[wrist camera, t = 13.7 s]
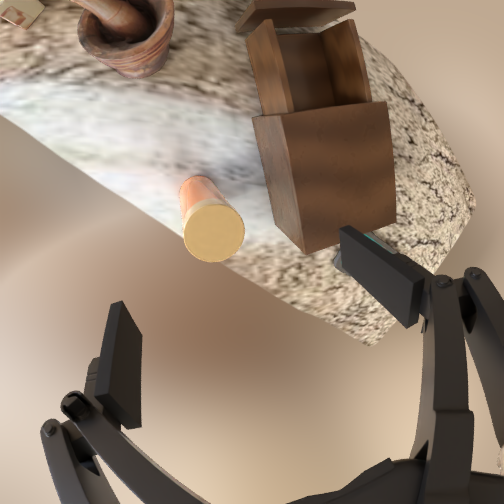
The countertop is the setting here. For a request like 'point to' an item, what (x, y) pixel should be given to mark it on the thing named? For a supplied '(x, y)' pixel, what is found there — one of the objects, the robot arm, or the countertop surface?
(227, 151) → the countertop surface
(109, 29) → the mortar and pestle
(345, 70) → the drawer
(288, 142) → the cabinet
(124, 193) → the countertop surface
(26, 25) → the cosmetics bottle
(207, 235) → the spice jar
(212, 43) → the countertop surface
